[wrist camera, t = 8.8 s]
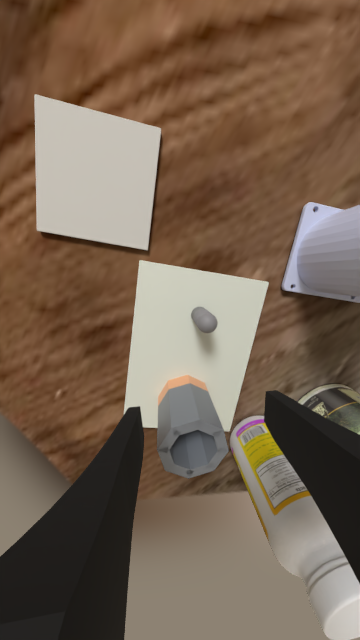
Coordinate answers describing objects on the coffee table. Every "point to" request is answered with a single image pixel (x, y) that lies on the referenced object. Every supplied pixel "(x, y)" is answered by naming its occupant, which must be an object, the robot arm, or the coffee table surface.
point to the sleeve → (189, 428)
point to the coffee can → (335, 405)
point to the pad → (94, 174)
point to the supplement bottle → (297, 529)
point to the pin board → (191, 335)
